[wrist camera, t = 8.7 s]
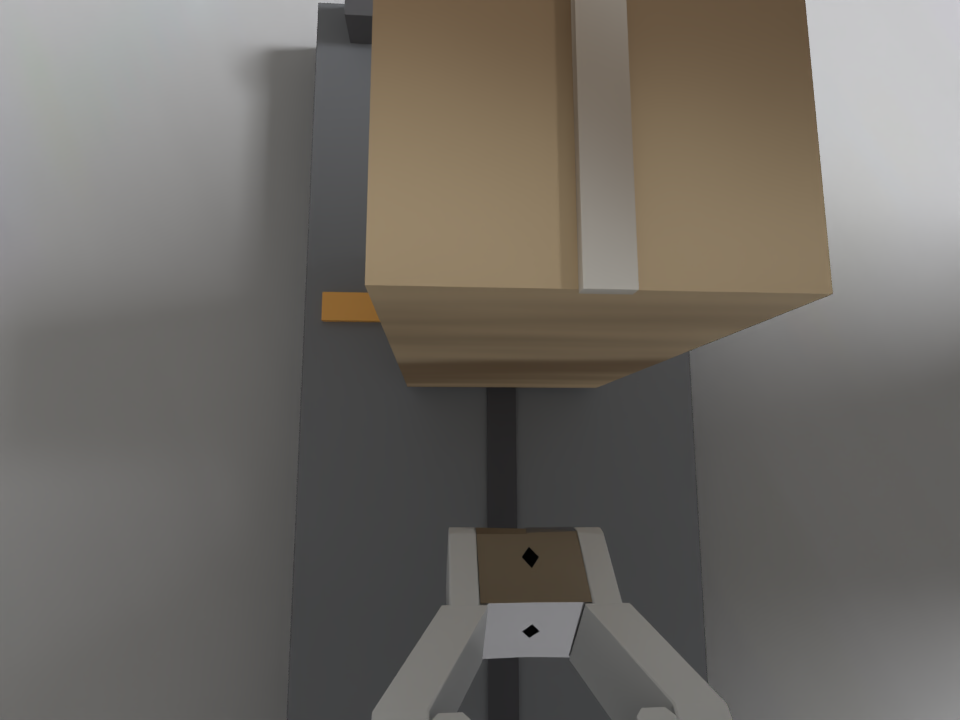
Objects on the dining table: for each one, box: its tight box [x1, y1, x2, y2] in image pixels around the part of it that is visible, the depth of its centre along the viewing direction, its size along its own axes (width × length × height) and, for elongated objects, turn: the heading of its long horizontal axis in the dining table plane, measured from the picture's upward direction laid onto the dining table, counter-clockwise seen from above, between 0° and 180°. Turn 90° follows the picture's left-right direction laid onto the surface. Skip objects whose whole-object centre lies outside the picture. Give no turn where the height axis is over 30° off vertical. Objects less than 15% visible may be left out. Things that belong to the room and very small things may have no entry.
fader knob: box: [365, 0, 833, 388], centre depth 12 cm, size 4×5×10 cm
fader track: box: [287, 0, 708, 720], centre depth 17 cm, size 25×11×3 cm, turn 0°
